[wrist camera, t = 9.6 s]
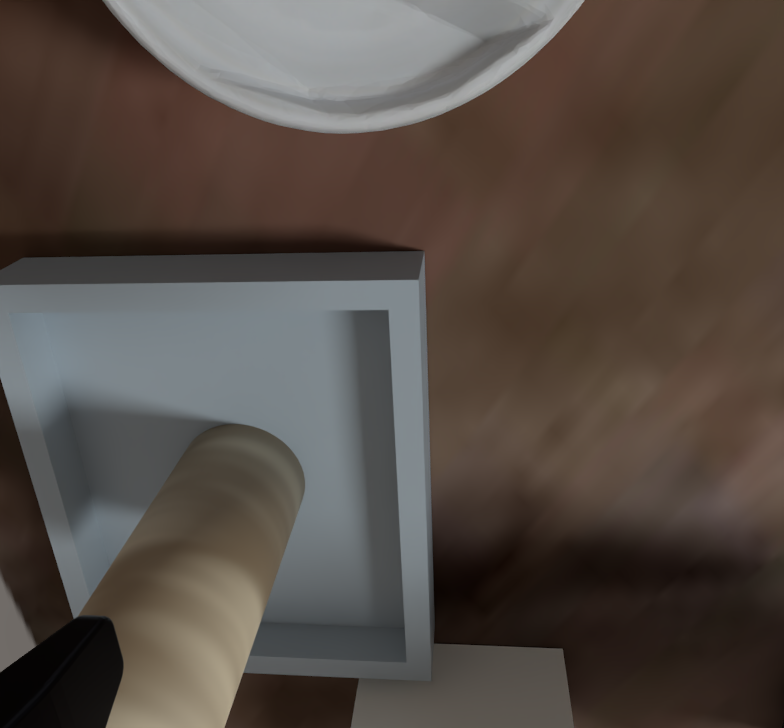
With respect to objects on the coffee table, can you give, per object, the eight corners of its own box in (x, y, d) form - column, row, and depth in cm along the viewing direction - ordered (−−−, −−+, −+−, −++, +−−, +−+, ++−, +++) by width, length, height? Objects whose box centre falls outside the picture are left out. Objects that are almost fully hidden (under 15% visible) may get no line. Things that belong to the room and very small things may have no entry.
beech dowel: (298, 424, 22) (164, 749, 12) (310, 530, 24) (200, 891, 14) (172, 423, 23) (-56, 737, 13) (192, 527, 24) (5, 876, 15)
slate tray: (424, 251, 21) (418, 279, 18) (434, 625, 27) (431, 681, 24) (23, 257, 22) (-28, 285, 20) (118, 613, 28) (88, 665, 26)
